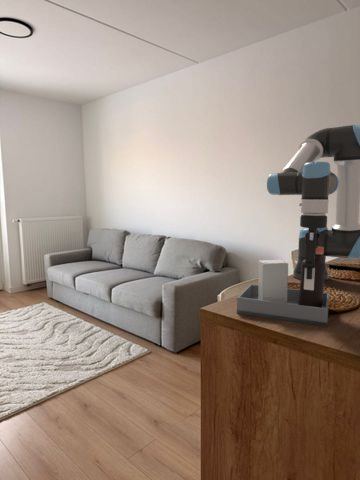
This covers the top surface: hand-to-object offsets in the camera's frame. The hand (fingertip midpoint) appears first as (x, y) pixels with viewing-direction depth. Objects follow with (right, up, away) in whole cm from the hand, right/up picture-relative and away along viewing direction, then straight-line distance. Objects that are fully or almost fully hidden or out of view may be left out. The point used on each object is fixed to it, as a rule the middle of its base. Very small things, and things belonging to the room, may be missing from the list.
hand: (310, 284), depth 103 cm
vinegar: (0, -8, 0) cm, 8 cm away
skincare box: (-10, -8, +6) cm, 14 cm away
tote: (-7, -9, +4) cm, 12 cm away
